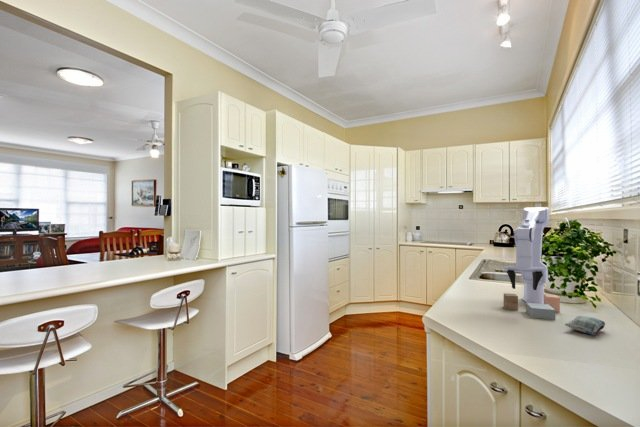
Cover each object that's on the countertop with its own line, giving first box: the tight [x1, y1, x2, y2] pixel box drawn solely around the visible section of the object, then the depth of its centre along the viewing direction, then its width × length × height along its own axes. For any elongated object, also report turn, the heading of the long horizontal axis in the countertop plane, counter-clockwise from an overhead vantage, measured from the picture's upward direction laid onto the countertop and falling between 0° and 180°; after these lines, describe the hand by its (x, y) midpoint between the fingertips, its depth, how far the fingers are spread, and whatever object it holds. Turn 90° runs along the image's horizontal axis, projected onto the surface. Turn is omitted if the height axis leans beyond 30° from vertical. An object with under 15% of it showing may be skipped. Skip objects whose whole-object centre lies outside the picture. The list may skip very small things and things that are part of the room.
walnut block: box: [503, 292, 519, 311], centre depth 140 cm, size 4×4×6 cm
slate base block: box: [525, 302, 556, 320], centre depth 131 cm, size 8×8×4 cm
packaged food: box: [564, 315, 606, 336], centre depth 114 cm, size 9×12×5 cm
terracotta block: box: [544, 293, 561, 313], centre depth 138 cm, size 4×4×6 cm
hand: (524, 289), depth 135 cm, fingers open, 7 cm apart
